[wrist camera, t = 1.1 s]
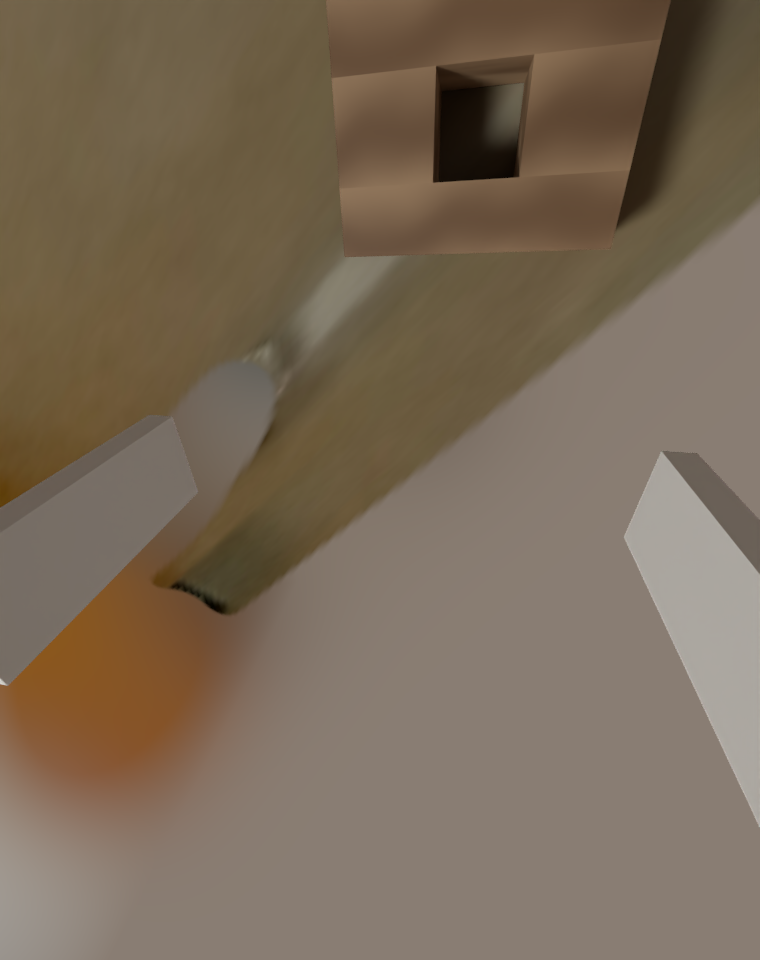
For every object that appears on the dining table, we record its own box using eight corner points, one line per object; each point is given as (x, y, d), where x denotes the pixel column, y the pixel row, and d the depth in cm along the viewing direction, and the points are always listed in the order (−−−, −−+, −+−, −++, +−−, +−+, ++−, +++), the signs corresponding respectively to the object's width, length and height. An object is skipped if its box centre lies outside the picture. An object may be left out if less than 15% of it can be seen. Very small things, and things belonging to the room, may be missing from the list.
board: (348, 16, 23) (324, -24, 19) (650, -28, 20) (691, -87, 16) (360, 253, 29) (344, 257, 26) (591, 246, 26) (610, 249, 23)
